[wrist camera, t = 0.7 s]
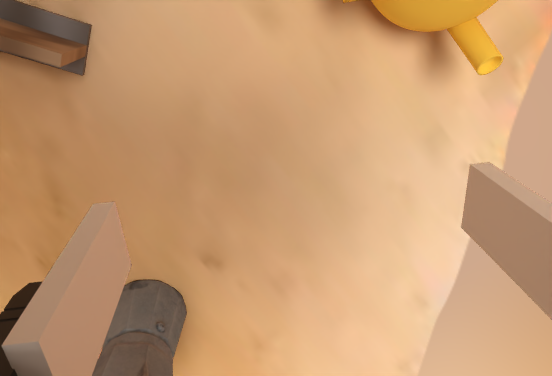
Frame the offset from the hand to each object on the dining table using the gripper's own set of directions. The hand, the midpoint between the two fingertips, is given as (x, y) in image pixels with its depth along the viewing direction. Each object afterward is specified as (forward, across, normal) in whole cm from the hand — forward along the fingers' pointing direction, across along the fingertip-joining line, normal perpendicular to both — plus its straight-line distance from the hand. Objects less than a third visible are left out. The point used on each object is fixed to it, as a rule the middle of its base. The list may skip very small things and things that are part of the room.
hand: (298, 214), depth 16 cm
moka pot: (+27, -15, -26) cm, 40 cm away
